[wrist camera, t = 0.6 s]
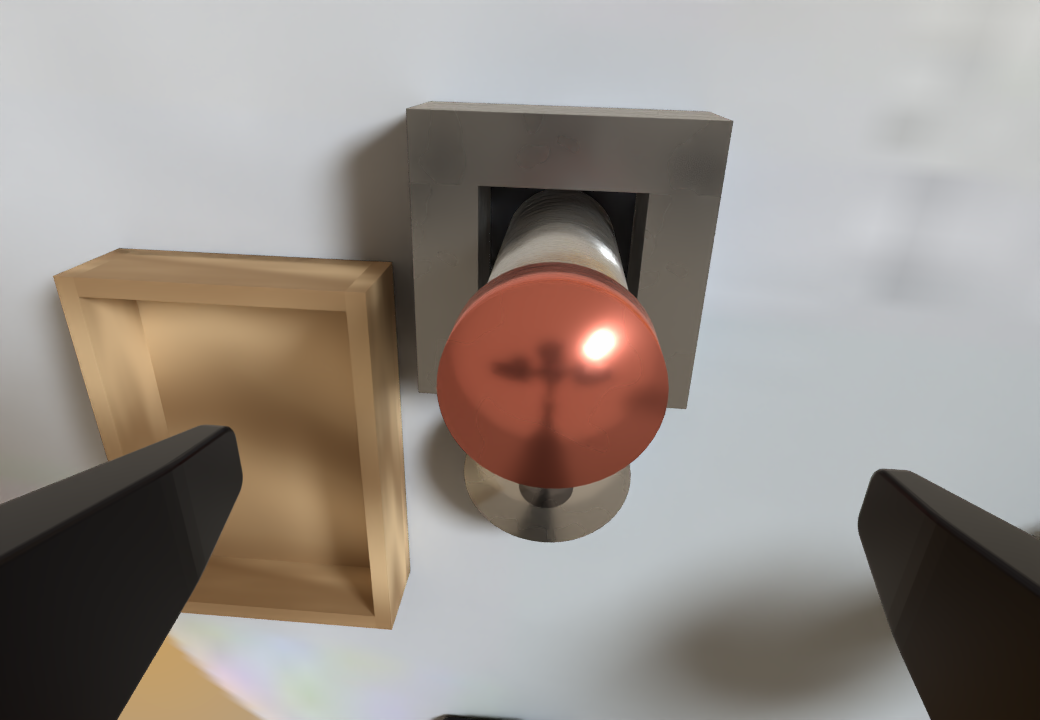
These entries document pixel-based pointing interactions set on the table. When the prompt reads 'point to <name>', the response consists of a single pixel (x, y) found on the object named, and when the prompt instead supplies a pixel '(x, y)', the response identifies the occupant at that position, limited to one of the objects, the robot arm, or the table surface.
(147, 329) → the tray
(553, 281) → the pin
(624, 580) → the table surface
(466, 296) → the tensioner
